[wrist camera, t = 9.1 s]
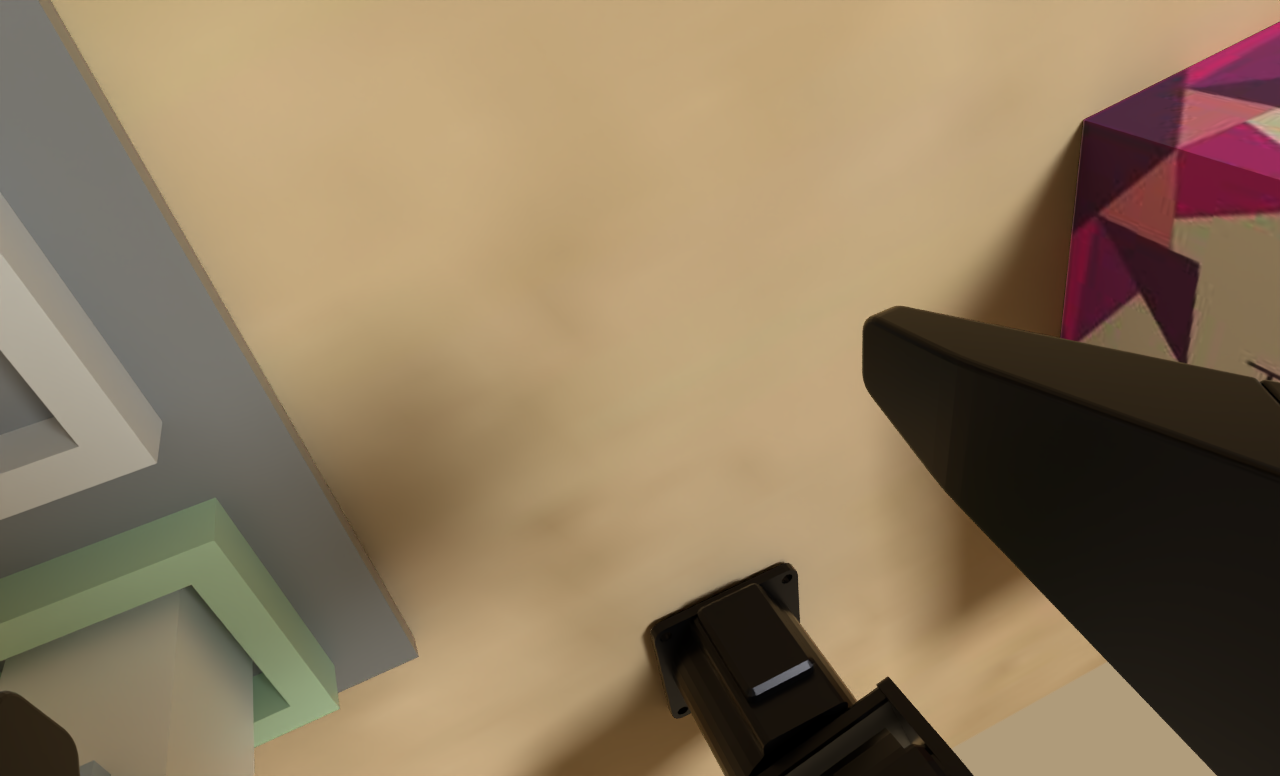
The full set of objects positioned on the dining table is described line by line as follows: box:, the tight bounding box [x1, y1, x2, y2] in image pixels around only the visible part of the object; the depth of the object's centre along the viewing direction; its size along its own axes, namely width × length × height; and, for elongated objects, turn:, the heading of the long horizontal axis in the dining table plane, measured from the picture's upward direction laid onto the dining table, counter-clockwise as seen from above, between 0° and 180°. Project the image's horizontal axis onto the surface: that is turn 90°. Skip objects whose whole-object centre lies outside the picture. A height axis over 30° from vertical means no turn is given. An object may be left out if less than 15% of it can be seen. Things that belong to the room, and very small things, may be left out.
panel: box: [0, 0, 419, 748], centre depth 17 cm, size 20×12×2 cm, turn 10°
